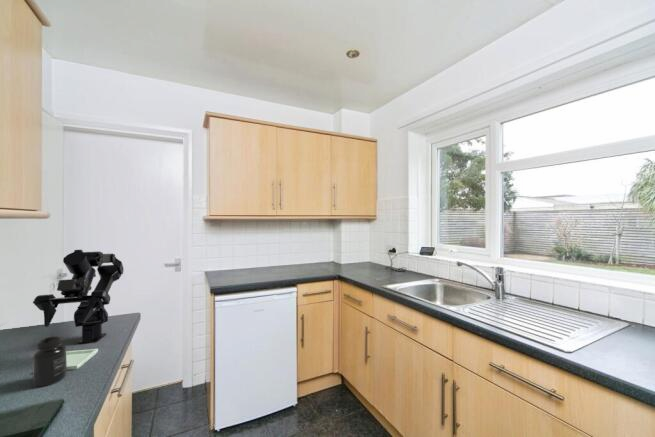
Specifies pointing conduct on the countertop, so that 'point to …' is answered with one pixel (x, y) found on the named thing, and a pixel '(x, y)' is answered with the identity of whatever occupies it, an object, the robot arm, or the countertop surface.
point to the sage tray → (78, 358)
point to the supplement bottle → (49, 362)
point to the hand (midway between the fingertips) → (64, 324)
